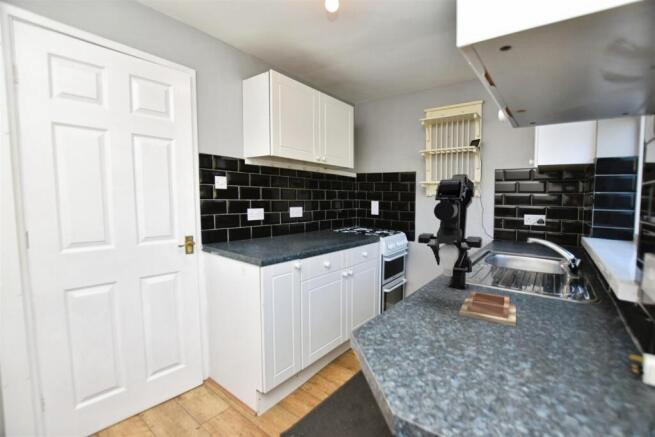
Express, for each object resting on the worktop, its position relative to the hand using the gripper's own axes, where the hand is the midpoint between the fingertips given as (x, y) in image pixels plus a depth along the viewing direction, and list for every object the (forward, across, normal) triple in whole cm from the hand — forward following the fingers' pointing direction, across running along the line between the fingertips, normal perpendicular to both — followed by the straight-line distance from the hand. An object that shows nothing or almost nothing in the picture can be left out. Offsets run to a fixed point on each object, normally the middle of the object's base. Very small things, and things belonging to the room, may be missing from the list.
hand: (448, 266), depth 96 cm
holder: (+12, +12, -2) cm, 17 cm away
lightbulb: (+4, 0, 0) cm, 4 cm away
